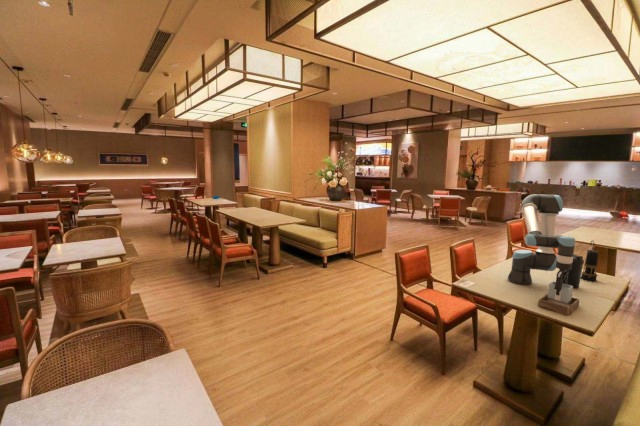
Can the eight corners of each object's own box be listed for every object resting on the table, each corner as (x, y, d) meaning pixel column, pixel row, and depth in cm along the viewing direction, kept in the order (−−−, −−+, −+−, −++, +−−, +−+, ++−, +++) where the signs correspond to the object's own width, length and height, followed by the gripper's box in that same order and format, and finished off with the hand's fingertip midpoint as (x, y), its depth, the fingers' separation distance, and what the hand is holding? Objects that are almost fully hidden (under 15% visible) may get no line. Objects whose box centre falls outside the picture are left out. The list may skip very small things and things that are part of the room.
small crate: (551, 294, 196) (553, 281, 194) (571, 300, 188) (573, 286, 186) (547, 297, 191) (549, 283, 190) (567, 303, 184) (569, 288, 182)
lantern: (599, 281, 231) (605, 241, 226) (590, 282, 228) (596, 242, 223) (586, 276, 239) (591, 238, 234) (577, 278, 237) (583, 239, 232)
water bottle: (568, 282, 228) (572, 252, 224) (583, 288, 218) (588, 256, 214) (558, 284, 224) (562, 253, 221) (573, 289, 215) (578, 257, 211)
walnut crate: (549, 297, 202) (550, 291, 202) (578, 306, 191) (579, 299, 190) (537, 306, 190) (538, 299, 190) (568, 315, 179) (569, 308, 178)
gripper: (562, 257, 195) (557, 292, 198) (550, 263, 183) (546, 300, 186) (577, 260, 189) (572, 296, 192) (566, 267, 177) (561, 304, 181)
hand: (559, 298), depth 189 cm, fingers closed on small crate, 7 cm apart
